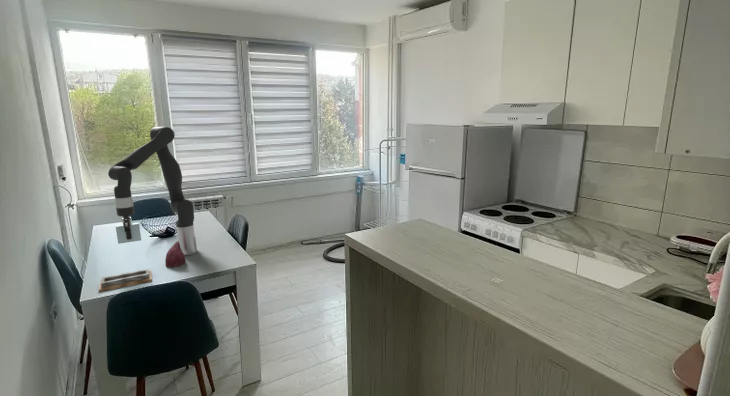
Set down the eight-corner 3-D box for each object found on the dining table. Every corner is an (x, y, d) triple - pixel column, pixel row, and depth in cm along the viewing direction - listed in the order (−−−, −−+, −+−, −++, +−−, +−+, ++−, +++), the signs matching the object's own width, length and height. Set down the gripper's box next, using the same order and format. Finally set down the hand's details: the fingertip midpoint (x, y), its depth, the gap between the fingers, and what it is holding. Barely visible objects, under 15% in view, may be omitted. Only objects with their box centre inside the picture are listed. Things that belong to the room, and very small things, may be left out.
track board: (151, 272, 197) (150, 266, 196) (152, 281, 186) (151, 275, 186) (101, 282, 186) (100, 276, 185) (98, 292, 176) (97, 285, 175)
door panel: (141, 238, 196) (138, 222, 194) (141, 240, 193) (138, 223, 191) (118, 242, 191) (115, 225, 189) (118, 243, 188) (115, 226, 186)
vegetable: (188, 265, 213) (193, 240, 212) (179, 271, 203) (185, 244, 201) (169, 261, 212) (174, 236, 211) (160, 266, 202) (165, 240, 201)
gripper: (132, 207, 184) (137, 240, 187) (133, 202, 196) (138, 233, 199) (114, 209, 180) (120, 243, 184) (116, 203, 192) (121, 235, 196)
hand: (129, 238), depth 192 cm, fingers closed on door panel, 3 cm apart
